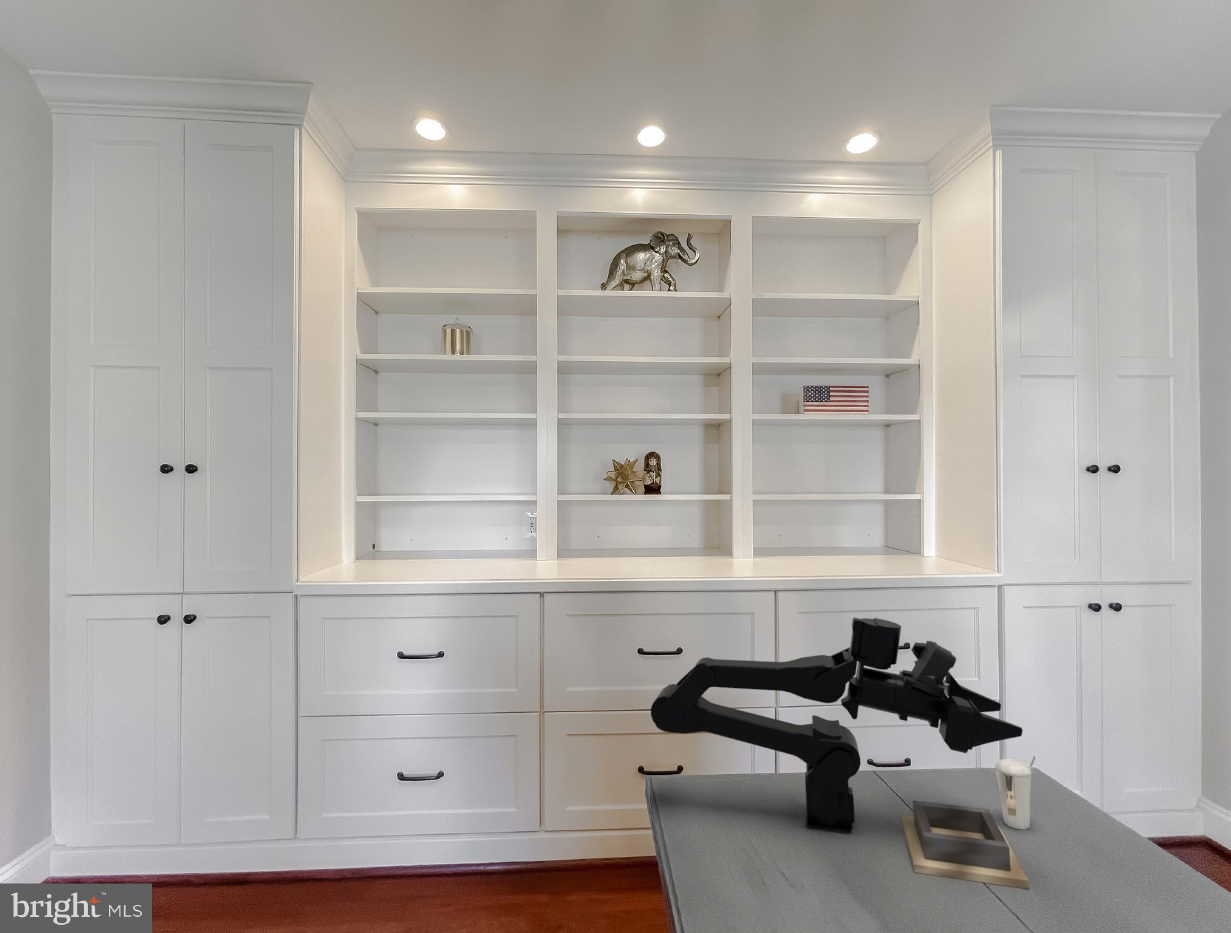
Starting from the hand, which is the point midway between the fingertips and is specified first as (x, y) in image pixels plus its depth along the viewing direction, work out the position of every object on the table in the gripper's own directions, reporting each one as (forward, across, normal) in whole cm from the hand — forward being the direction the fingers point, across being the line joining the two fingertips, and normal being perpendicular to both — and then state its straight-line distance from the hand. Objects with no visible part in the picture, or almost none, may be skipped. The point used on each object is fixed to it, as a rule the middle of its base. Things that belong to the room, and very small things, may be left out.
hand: (1010, 718), depth 86 cm
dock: (-6, -5, +18) cm, 20 cm away
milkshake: (+5, +5, +17) cm, 18 cm away
